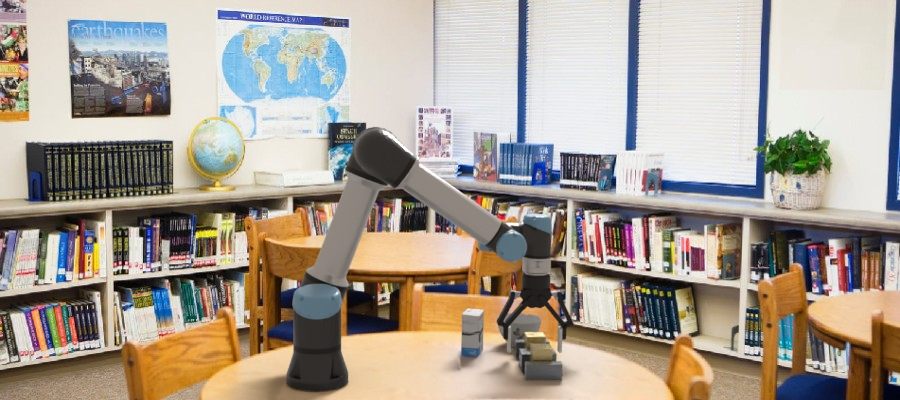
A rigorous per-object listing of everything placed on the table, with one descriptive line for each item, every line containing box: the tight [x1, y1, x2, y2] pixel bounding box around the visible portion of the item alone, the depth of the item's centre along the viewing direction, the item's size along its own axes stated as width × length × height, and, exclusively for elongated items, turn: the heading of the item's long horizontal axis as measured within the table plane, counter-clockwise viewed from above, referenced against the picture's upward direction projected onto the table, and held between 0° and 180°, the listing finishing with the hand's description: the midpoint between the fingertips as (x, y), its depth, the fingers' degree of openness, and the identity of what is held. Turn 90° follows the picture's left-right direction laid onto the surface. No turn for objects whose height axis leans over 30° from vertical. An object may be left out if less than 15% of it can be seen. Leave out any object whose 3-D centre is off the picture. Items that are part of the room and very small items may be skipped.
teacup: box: [496, 312, 542, 347], centre depth 282 cm, size 15×12×8 cm
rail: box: [514, 339, 563, 381], centre depth 258 cm, size 9×24×4 cm, turn 3°
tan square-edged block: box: [524, 331, 547, 349], centre depth 263 cm, size 5×5×7 cm
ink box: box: [460, 308, 485, 358], centre depth 270 cm, size 8×5×12 cm, turn 168°
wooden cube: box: [530, 343, 554, 361], centre depth 252 cm, size 5×5×7 cm
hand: (534, 351), depth 264 cm, fingers open, 13 cm apart
